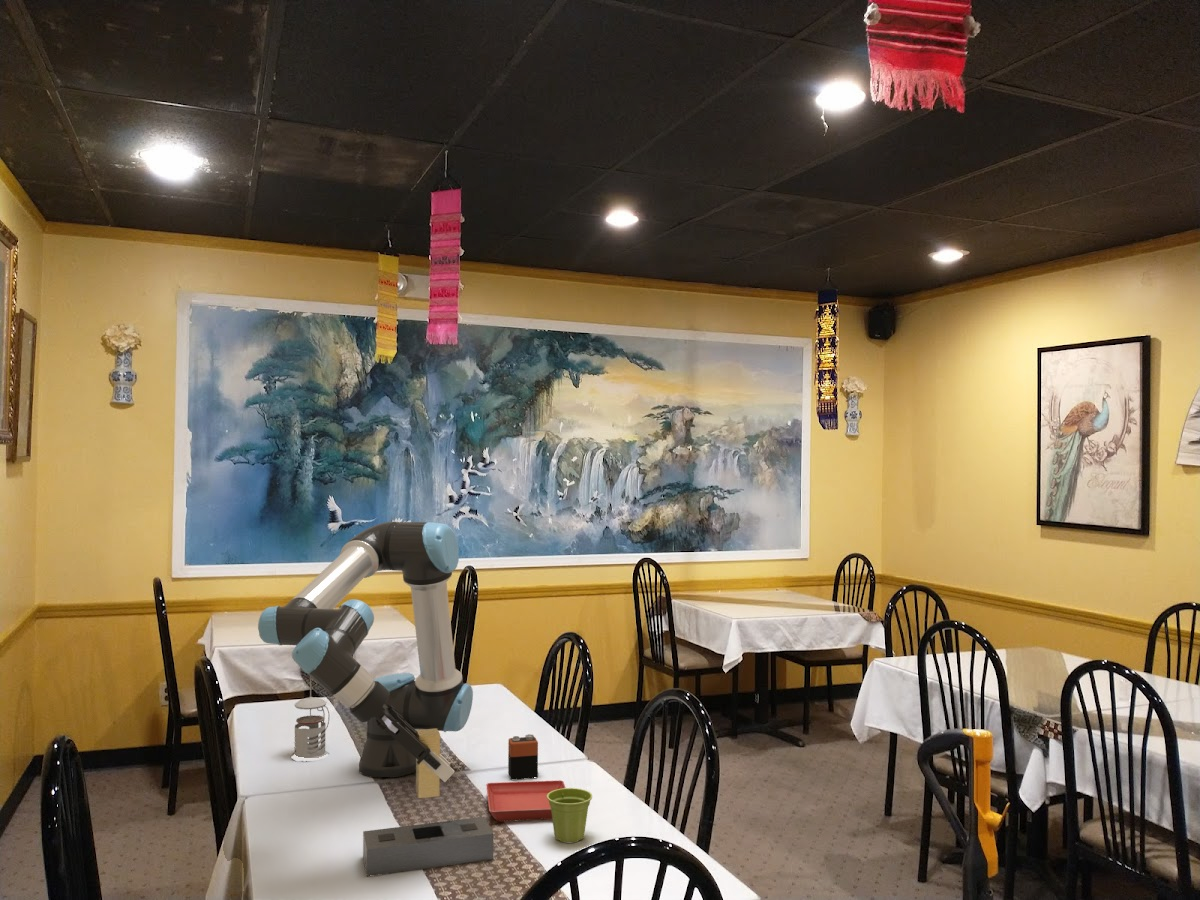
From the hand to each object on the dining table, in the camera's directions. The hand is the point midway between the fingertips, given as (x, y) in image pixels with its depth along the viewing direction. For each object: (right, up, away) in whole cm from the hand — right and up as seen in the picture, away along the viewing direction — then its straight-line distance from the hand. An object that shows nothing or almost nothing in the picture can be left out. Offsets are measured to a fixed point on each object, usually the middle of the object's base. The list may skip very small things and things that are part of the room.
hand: (447, 772), depth 181 cm
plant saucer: (+14, -17, +25) cm, 34 cm away
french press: (-46, -17, +62) cm, 79 cm away
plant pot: (+24, -17, +9) cm, 30 cm away
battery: (+11, -17, +46) cm, 50 cm away
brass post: (-4, -4, -1) cm, 5 cm away
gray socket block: (-4, -16, -1) cm, 17 cm away
